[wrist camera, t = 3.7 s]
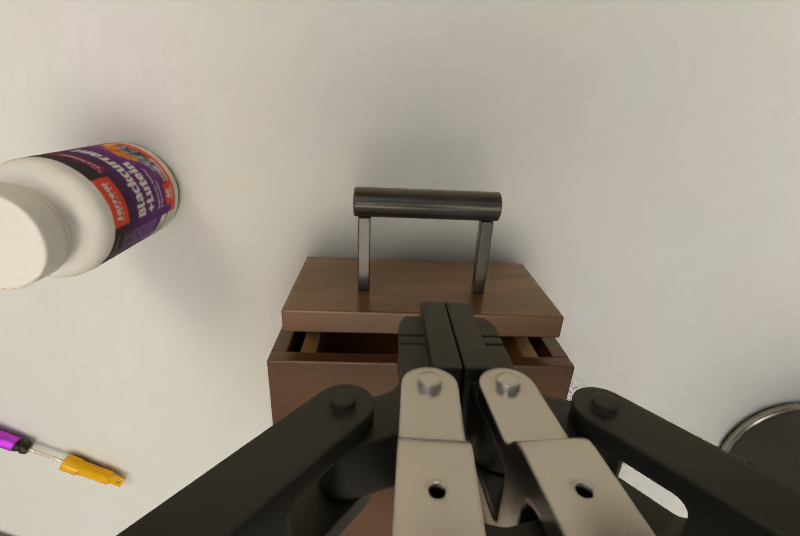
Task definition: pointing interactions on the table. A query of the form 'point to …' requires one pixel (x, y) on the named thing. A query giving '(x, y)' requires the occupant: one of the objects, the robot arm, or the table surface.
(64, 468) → the purple and yellow rod
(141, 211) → the pill bottle
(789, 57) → the table surface
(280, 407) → the cabinet
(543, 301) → the drawer
